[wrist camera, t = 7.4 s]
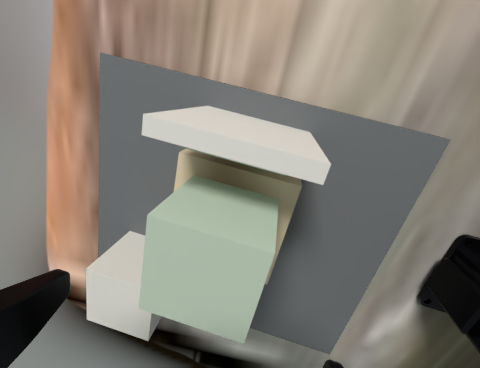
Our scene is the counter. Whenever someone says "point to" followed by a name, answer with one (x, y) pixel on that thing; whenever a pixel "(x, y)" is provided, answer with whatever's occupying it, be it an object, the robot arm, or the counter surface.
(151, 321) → the cream cube
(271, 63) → the counter surface
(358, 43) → the counter surface
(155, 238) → the sage cube
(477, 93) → the counter surface
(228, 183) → the oak base block
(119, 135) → the mat
